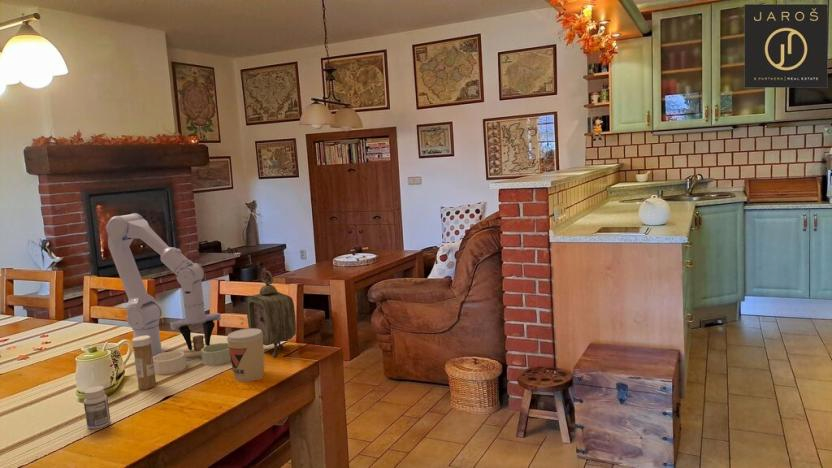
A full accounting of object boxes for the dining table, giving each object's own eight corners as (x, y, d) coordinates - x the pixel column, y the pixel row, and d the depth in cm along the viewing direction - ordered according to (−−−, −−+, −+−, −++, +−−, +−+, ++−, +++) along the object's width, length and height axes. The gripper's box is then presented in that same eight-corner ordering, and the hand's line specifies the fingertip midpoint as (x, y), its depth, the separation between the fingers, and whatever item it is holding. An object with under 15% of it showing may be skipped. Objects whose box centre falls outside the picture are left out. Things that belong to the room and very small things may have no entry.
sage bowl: (196, 363, 176) (194, 349, 175) (223, 354, 182) (221, 341, 182) (213, 368, 170) (211, 354, 169) (240, 358, 177) (239, 345, 176)
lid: (177, 352, 186) (175, 337, 185) (211, 344, 192) (209, 329, 191) (186, 360, 177) (185, 343, 177) (221, 351, 183) (220, 336, 183)
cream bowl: (149, 369, 172) (147, 356, 172) (181, 362, 177) (180, 349, 177) (156, 377, 165) (154, 363, 164) (190, 369, 170) (188, 355, 170)
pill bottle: (92, 421, 138) (88, 386, 137) (114, 419, 138) (109, 384, 137) (83, 430, 133) (78, 394, 132) (105, 428, 134) (100, 392, 133)
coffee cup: (224, 378, 161) (219, 334, 159) (255, 368, 168) (250, 326, 166) (243, 385, 154) (238, 340, 153) (274, 374, 161) (269, 331, 160)
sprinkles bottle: (158, 386, 158) (152, 337, 156) (139, 391, 155) (133, 341, 154) (155, 382, 162) (148, 333, 160) (136, 386, 159) (130, 337, 157)
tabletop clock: (250, 350, 185) (242, 270, 182) (277, 343, 190) (269, 265, 187) (273, 359, 174) (264, 275, 171) (300, 351, 180) (292, 269, 176)
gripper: (172, 311, 175) (177, 355, 177) (221, 301, 184) (226, 344, 185) (166, 307, 181) (171, 350, 183) (214, 298, 189) (219, 339, 191)
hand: (198, 347), depth 184 cm, fingers open, 5 cm apart
